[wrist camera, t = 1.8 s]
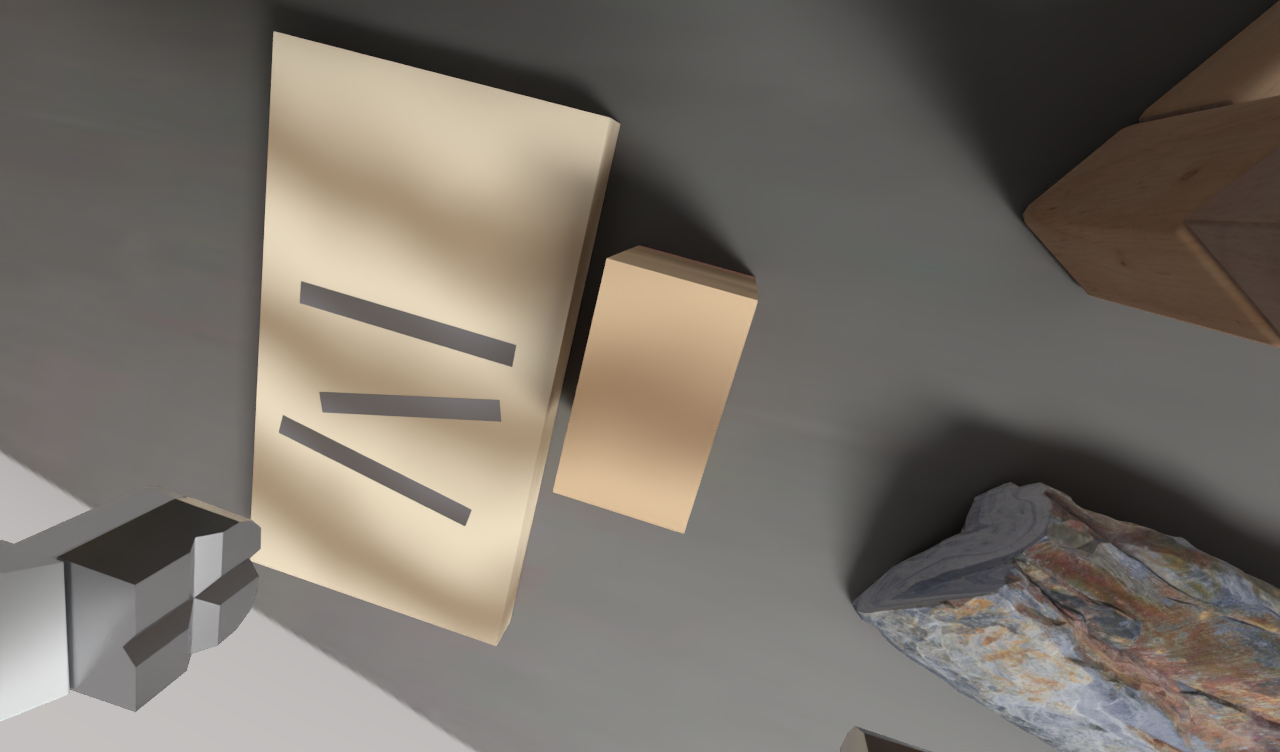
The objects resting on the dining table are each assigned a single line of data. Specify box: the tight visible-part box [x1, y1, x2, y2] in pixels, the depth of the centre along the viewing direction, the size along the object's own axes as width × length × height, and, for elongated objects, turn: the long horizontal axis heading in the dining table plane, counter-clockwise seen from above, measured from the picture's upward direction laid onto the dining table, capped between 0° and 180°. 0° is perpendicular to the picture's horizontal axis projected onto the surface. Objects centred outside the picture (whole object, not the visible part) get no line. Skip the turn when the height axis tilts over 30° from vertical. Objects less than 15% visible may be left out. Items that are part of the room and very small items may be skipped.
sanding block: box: [553, 245, 758, 534], centre depth 19 cm, size 7×4×5 cm, turn 166°
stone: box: [853, 482, 1280, 752], centre depth 20 cm, size 17×5×10 cm
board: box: [250, 31, 620, 646], centre depth 22 cm, size 20×11×2 cm, turn 166°
